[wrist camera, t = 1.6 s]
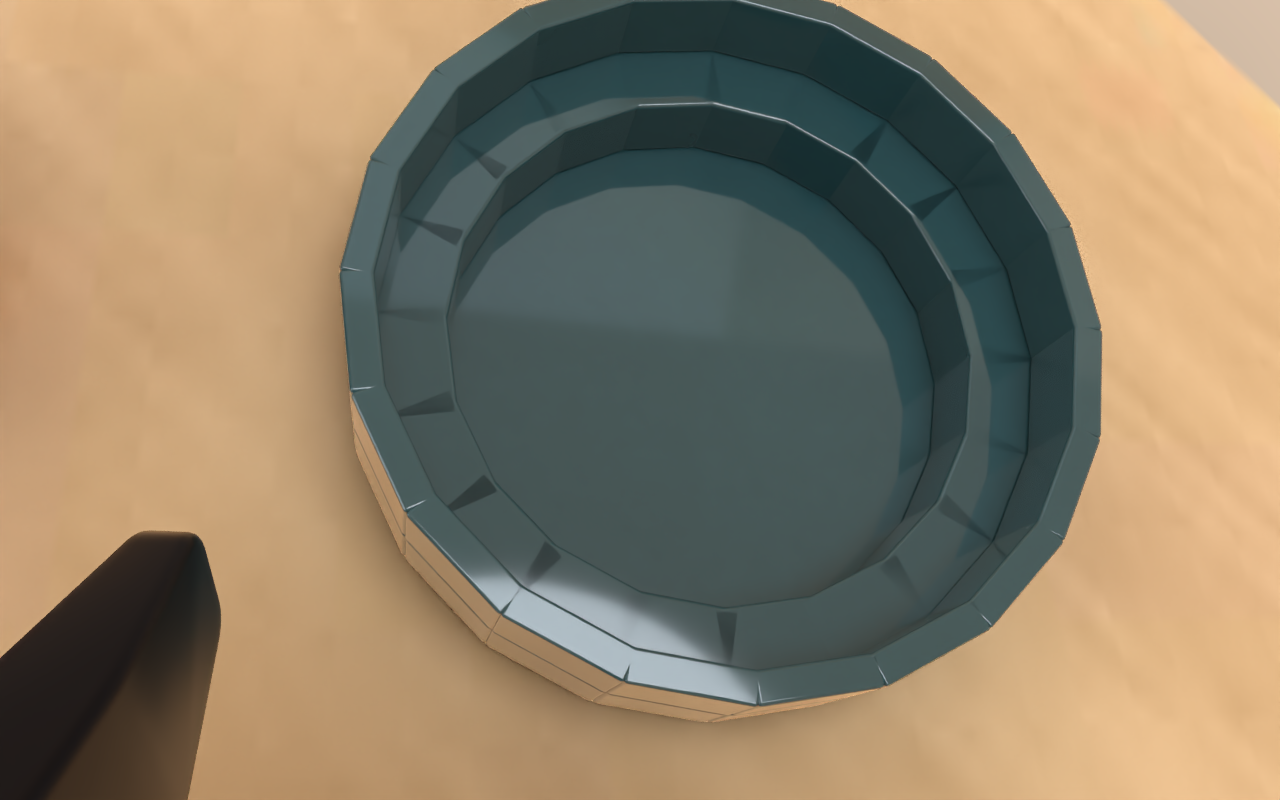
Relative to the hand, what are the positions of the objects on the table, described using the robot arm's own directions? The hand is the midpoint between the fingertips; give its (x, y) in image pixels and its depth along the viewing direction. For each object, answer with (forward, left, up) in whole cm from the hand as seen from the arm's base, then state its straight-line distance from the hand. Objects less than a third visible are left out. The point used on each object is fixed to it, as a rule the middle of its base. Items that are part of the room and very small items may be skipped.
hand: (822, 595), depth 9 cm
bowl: (+7, +3, -15) cm, 17 cm away
